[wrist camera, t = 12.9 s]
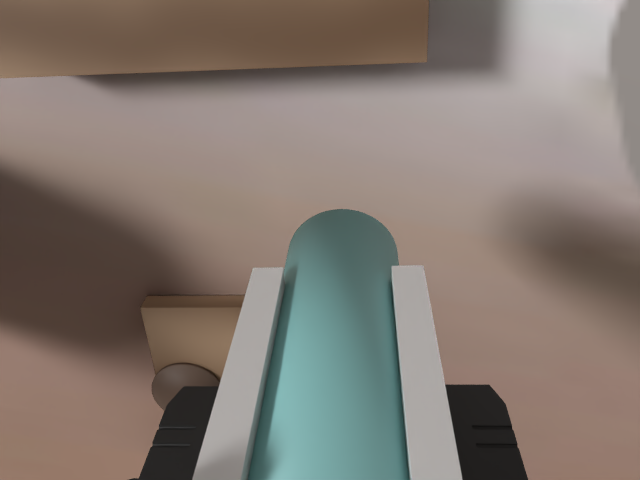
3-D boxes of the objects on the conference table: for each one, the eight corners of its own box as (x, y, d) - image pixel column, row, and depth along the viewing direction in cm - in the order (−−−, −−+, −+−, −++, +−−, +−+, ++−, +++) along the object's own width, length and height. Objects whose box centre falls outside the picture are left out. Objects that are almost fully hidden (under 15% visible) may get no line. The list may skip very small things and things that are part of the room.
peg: (283, 210, 17) (200, 542, 8) (398, 208, 16) (442, 548, 8) (292, 303, 18) (230, 666, 10) (397, 302, 18) (431, 674, 9)
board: (140, 295, 28) (99, 365, 24) (360, 294, 27) (359, 366, 23) (175, 446, 33) (146, 527, 28) (363, 449, 32) (363, 533, 28)
